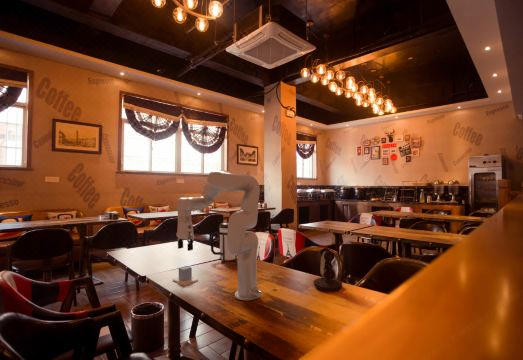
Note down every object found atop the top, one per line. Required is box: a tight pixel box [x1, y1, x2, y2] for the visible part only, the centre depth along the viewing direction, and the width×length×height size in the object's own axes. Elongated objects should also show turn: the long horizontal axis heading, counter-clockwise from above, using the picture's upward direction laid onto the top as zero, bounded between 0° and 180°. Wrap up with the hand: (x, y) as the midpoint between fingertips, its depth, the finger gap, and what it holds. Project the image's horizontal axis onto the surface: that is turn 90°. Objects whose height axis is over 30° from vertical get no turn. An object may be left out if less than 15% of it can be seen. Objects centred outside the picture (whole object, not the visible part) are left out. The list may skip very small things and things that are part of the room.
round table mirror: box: [313, 247, 343, 292], centre depth 148 cm, size 15×15×20 cm
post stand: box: [172, 276, 199, 286], centre depth 161 cm, size 12×9×6 cm
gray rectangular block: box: [178, 265, 193, 281], centre depth 161 cm, size 5×5×7 cm
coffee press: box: [210, 218, 238, 264], centre depth 202 cm, size 17×16×30 cm
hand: (185, 249), depth 161 cm, fingers open, 9 cm apart
